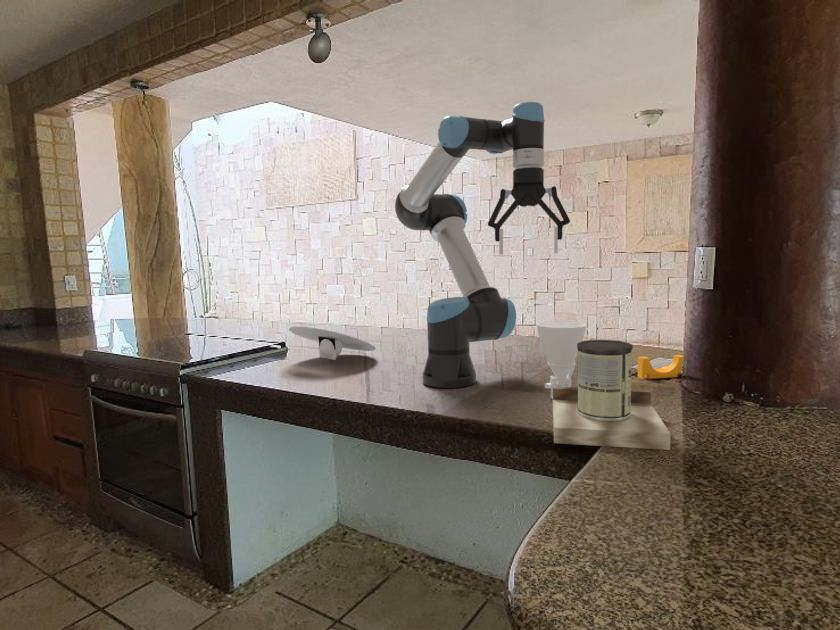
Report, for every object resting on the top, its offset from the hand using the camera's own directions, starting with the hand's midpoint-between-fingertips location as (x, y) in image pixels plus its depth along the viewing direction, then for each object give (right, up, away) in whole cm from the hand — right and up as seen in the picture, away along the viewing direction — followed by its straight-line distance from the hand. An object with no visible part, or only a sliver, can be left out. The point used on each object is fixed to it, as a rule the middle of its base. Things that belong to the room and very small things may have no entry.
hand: (528, 254), depth 133 cm
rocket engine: (+7, -36, -6) cm, 37 cm away
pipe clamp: (+38, -33, +9) cm, 51 cm away
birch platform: (+9, -38, -28) cm, 49 cm away
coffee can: (+9, -35, -29) cm, 47 cm away
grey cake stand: (-65, -27, +37) cm, 79 cm away
